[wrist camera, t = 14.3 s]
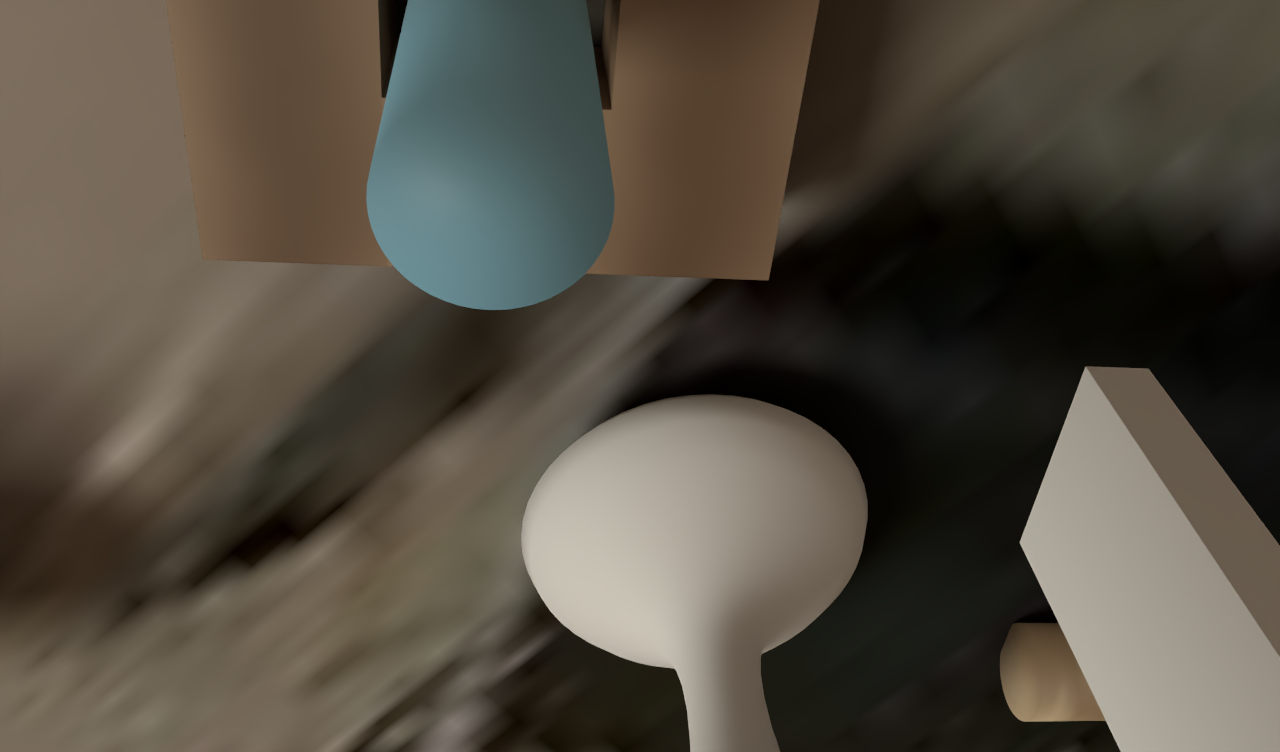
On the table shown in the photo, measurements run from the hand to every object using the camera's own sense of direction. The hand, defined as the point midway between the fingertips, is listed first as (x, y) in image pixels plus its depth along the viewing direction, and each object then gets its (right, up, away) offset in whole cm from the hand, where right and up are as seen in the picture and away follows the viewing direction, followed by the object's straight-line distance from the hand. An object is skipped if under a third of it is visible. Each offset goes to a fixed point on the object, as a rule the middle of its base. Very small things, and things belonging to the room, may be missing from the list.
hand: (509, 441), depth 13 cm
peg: (-2, +11, +15) cm, 19 cm away
